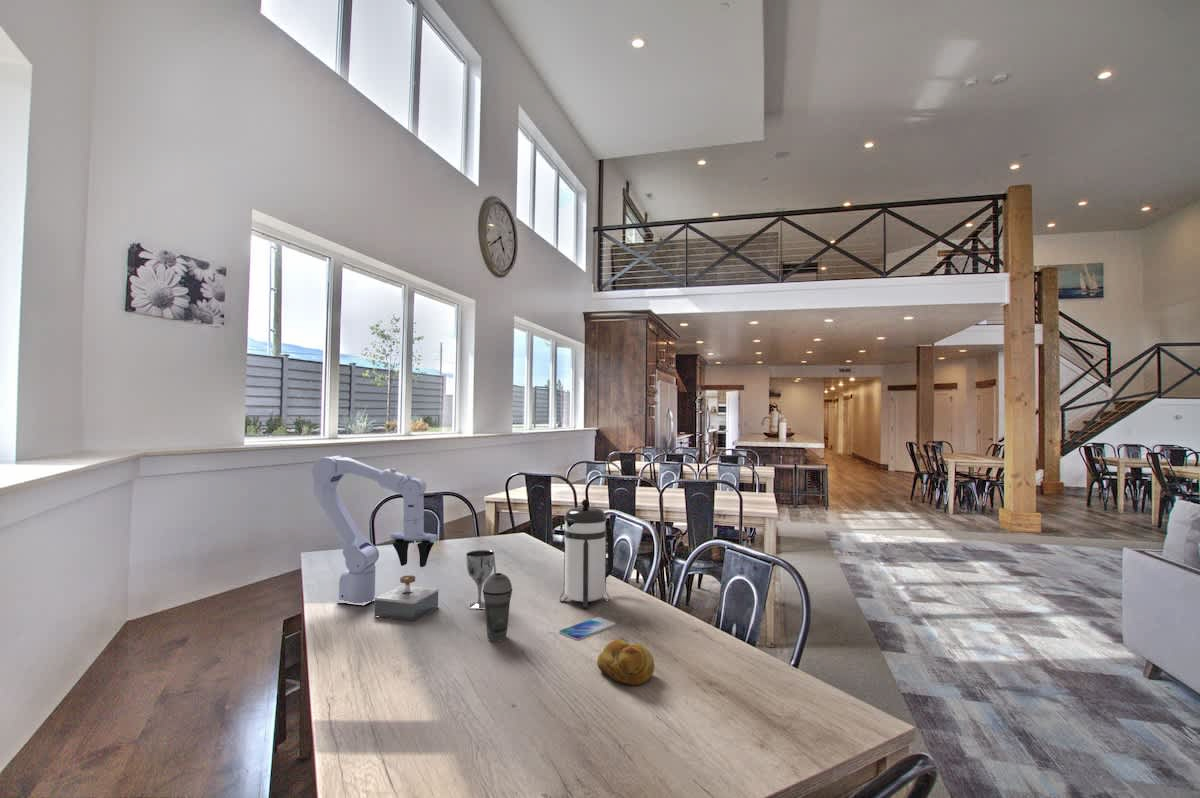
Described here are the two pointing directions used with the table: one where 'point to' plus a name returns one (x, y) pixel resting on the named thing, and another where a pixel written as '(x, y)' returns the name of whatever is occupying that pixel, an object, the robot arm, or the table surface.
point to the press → (406, 603)
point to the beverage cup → (497, 604)
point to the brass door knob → (407, 582)
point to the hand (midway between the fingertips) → (413, 565)
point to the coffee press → (586, 554)
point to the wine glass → (479, 570)
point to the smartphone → (587, 628)
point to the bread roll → (626, 662)
